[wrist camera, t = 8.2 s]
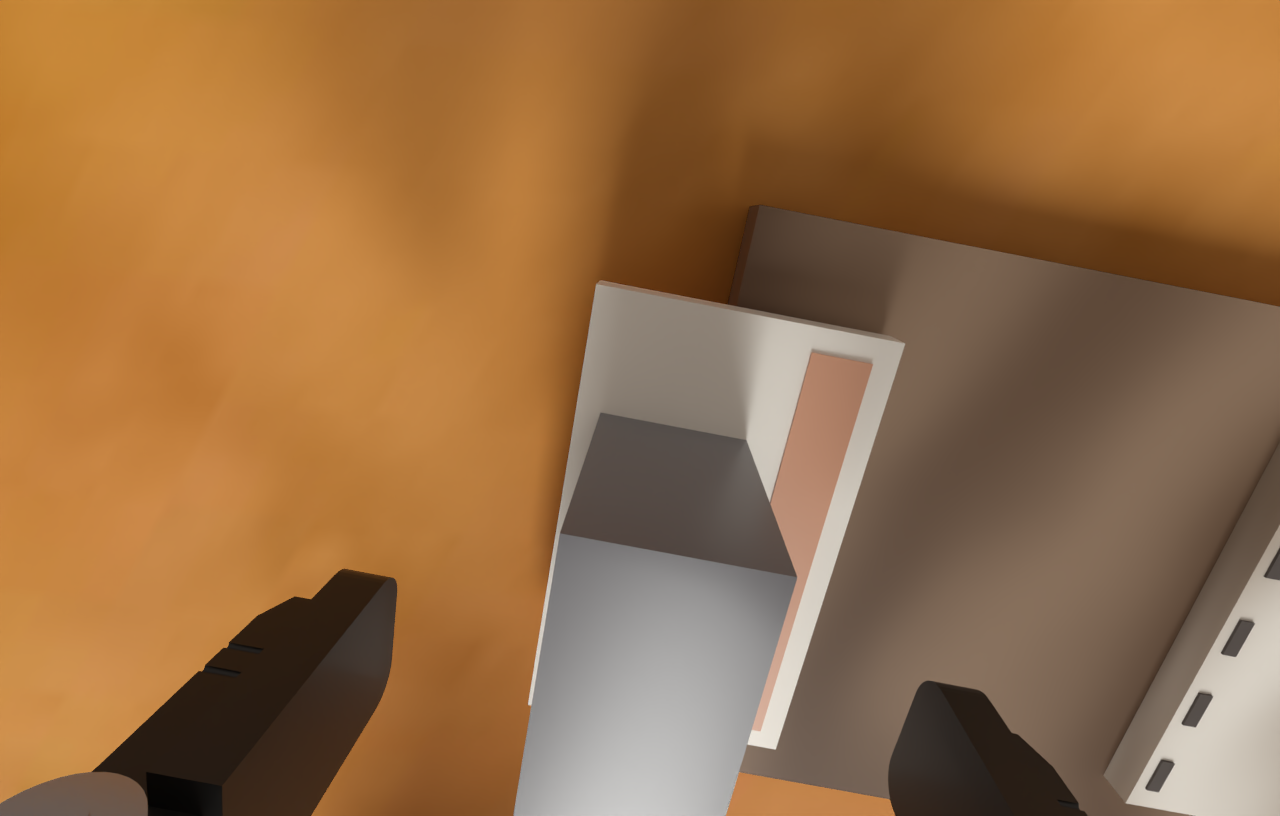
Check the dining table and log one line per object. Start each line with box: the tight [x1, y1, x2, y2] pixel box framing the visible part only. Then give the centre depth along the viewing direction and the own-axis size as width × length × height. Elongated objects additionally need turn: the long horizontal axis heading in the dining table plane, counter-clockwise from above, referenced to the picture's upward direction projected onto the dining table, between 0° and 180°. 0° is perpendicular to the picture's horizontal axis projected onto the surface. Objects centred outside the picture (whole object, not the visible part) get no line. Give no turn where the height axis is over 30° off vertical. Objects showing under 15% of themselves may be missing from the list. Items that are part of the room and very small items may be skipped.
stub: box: [513, 280, 905, 816], centre depth 11 cm, size 6×10×6 cm, turn 170°
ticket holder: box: [728, 205, 1280, 816], centre depth 14 cm, size 26×14×4 cm, turn 80°
